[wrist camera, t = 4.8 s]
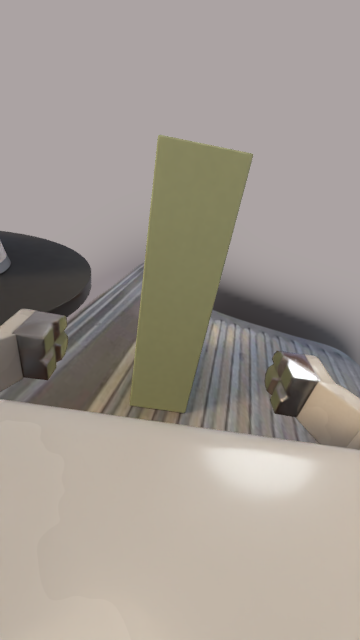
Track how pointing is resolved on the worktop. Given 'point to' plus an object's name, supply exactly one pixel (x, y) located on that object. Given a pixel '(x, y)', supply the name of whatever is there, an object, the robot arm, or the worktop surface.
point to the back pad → (183, 264)
